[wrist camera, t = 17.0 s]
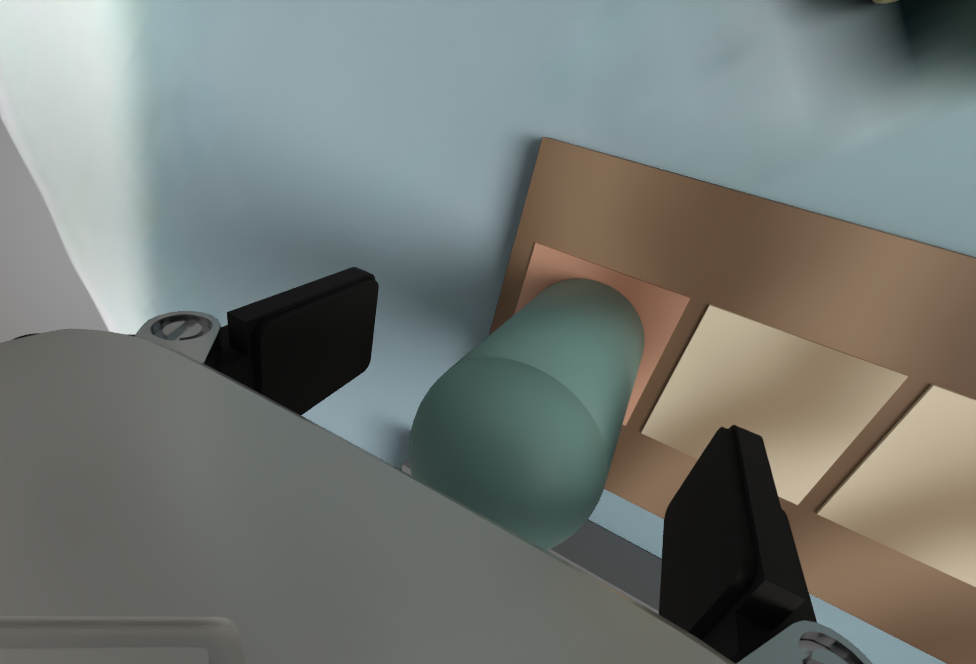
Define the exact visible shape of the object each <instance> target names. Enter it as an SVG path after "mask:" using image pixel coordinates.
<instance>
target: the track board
mask: <svg viewBox="0 0 976 664" xmlns="http://www.w3.org/2000/svg"><path fill="white" fill-rule="evenodd" d="M568 279H591V280H595V281H599V282H602V283H604V284H607V285H609V286H611V287H612V288H614V289H616V290H617V291H619V292H620V293H621V294H623V295H624V296H625V297H626V298H627V299H628V300H629V301H630V303H631V304H632V305H633V306H634V308H635V309H636V311H637V313H638V314H639V317H640V319H641V321H642V325H643V328H644V335H645V345H644V351H643V355H642V359H641V362H640V366H639V369H638V372H637V376H636V379H635V383H634V386H633V390H632V393H631V397H630V400H629V404H628V407H627V411H626V414H625V418H624V421H623V425H622V428H621V431H620V435H619V438H618V442H617V445H616V449H615V452H614V456H613V459H612V463H611V466H610V470H609V473H608V477H607V480H606V483H605V486H604V489H606V490H608V491H610V492H612V493H614V494H616V495H618V496H620V497H622V498H624V499H626V500H627V501H629V502H631V503H633V504H635V505H637V506H639V507H641V508H643V509H645V510H647V511H649V512H651V513H653V514H655V515H657V516H659V517H661V518H663V519H664V517H665V513H666V510H667V507H668V505H669V503H670V502H671V500H672V499H673V497H674V496H675V494H676V493H677V491H678V490H679V488H680V487H681V485H682V483H683V482H684V480H685V479H686V477H687V476H688V474H689V473H690V471H691V470H692V468H693V467H694V465H695V464H696V462H697V461H698V459H699V458H700V456H701V454H702V453H703V451H704V450H705V448H706V447H707V445H708V444H709V442H710V441H711V439H712V438H713V436H714V435H715V433H716V432H717V430H718V429H719V428H720V427H724V428H727V429H729V427H731V426H732V425H736V426H738V427H741V428H743V429H746V430H748V431H750V432H753V433H755V434H758V435H760V436H762V438H763V441H764V445H765V449H766V452H767V456H768V460H769V464H770V467H771V471H772V475H773V479H774V482H775V486H776V490H777V494H778V497H779V501H780V505H781V509H782V510H784V511H785V513H786V515H787V517H788V520H789V524H790V527H791V531H792V534H793V538H794V542H795V545H796V549H797V552H798V556H799V560H800V563H801V567H802V571H803V574H804V578H805V581H806V585H807V589H808V592H809V593H810V594H812V595H814V596H816V597H818V598H820V599H821V600H823V601H825V602H827V603H829V604H831V605H833V606H835V607H837V608H839V609H841V610H843V611H845V612H847V613H849V614H851V615H853V616H855V617H857V618H859V619H861V620H863V621H865V622H867V623H869V624H870V625H872V626H874V627H876V628H878V629H880V630H882V631H884V632H886V633H888V634H890V635H892V636H894V637H896V638H898V639H900V640H902V641H904V642H906V643H908V644H910V645H912V646H914V647H916V648H918V649H919V650H921V651H923V652H925V653H927V654H929V655H931V656H933V657H935V658H937V659H939V660H941V661H943V662H945V663H947V664H976V257H973V256H969V255H966V254H962V253H959V252H955V251H951V250H948V249H944V248H941V247H937V246H934V245H930V244H926V243H923V242H919V241H916V240H912V239H909V238H905V237H901V236H898V235H894V234H891V233H887V232H884V231H880V230H876V229H873V228H869V227H866V226H862V225H859V224H855V223H852V222H848V221H844V220H841V219H837V218H834V217H830V216H827V215H823V214H819V213H816V212H812V211H809V210H805V209H802V208H798V207H794V206H791V205H787V204H784V203H780V202H777V201H773V200H769V199H766V198H762V197H759V196H755V195H752V194H748V193H744V192H741V191H737V190H734V189H730V188H727V187H723V186H720V185H716V184H712V183H709V182H705V181H702V180H698V179H695V178H691V177H687V176H684V175H680V174H677V173H673V172H670V171H666V170H662V169H659V168H655V167H652V166H648V165H645V164H641V163H637V162H634V161H630V160H627V159H623V158H620V157H616V156H612V155H609V154H605V153H602V152H598V151H595V150H591V149H588V148H584V147H580V146H577V145H573V144H570V143H566V142H563V141H559V140H555V139H552V138H545V137H543V138H542V141H541V145H540V149H539V153H538V156H537V160H536V164H535V167H534V171H533V175H532V178H531V182H530V186H529V189H528V193H527V197H526V201H525V204H524V208H523V212H522V215H521V219H520V223H519V226H518V230H517V234H516V238H515V241H514V245H513V249H512V252H511V256H510V260H509V263H508V267H507V271H506V274H505V278H504V282H503V286H502V289H501V293H500V297H499V300H498V304H497V308H496V311H495V315H494V319H493V323H492V326H491V330H490V334H489V336H490V335H491V334H492V333H493V332H494V331H496V330H497V329H498V328H499V327H500V326H501V325H503V324H504V323H505V322H506V321H507V320H509V319H510V318H511V317H512V316H513V315H515V314H516V313H517V312H518V311H519V310H521V309H522V308H523V307H524V306H525V305H527V304H528V303H529V302H530V301H531V300H533V299H534V298H535V297H536V296H537V295H539V294H540V293H541V292H542V291H543V290H545V289H546V288H548V287H549V286H551V285H553V284H555V283H557V282H560V281H564V280H568Z"/></svg>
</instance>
